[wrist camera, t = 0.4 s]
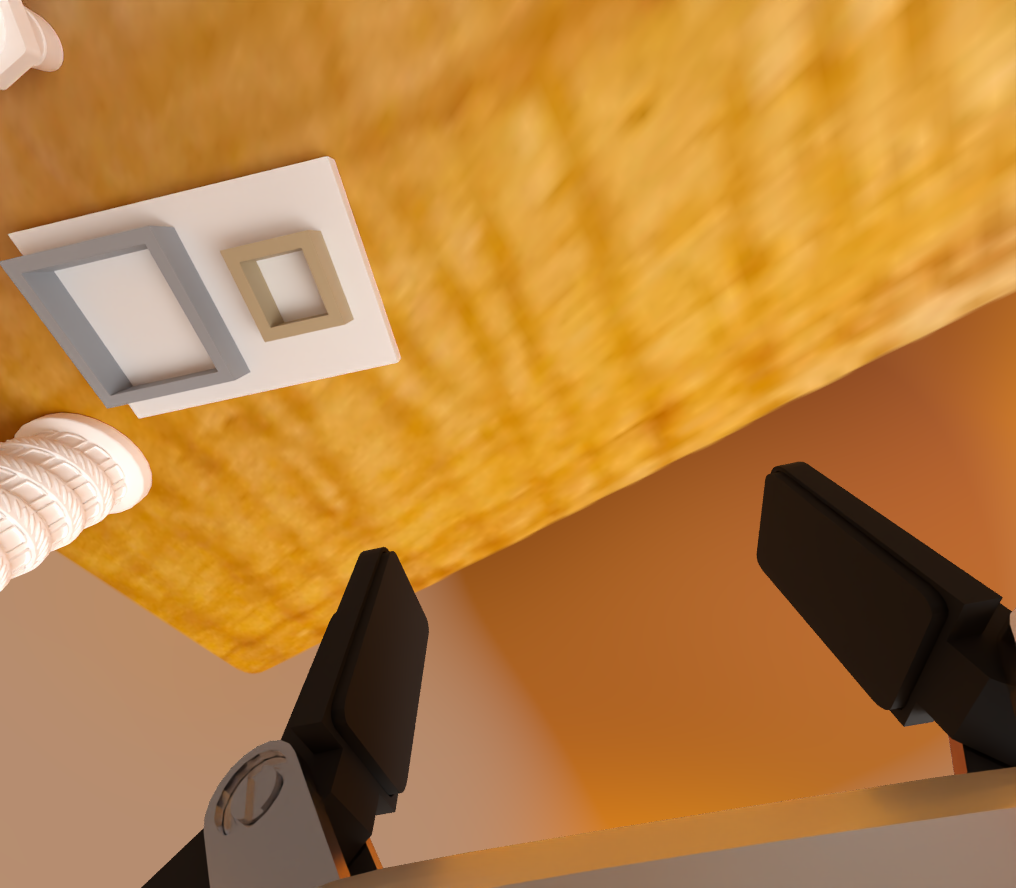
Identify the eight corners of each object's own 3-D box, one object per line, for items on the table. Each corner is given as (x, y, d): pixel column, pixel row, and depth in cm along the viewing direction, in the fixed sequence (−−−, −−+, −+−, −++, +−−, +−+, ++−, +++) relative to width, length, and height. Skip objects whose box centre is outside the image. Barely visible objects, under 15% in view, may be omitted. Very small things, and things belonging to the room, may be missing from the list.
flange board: (27, 234, 31) (-31, 233, 28) (334, 159, 30) (314, 148, 27) (150, 412, 39) (116, 429, 35) (401, 358, 37) (392, 370, 34)
